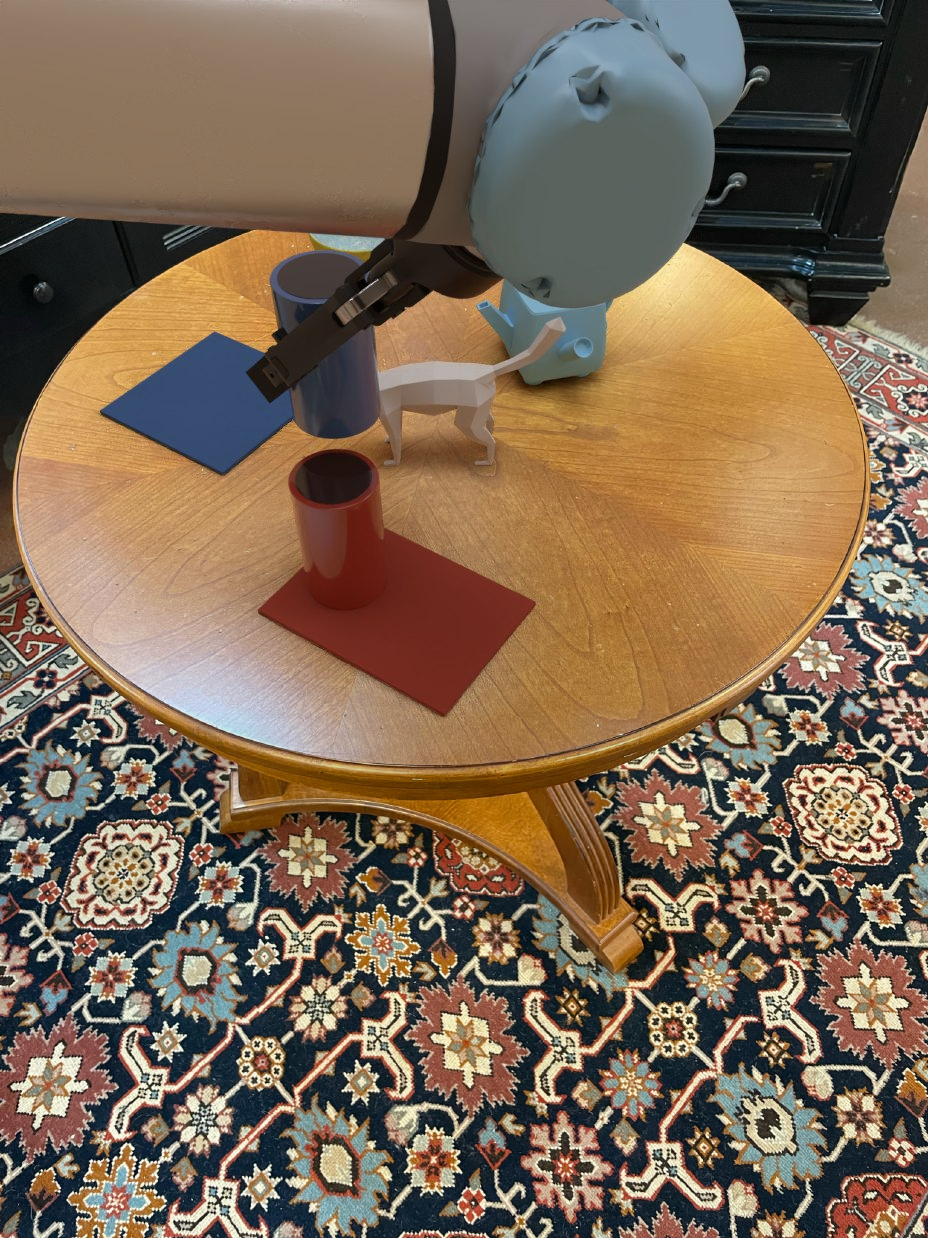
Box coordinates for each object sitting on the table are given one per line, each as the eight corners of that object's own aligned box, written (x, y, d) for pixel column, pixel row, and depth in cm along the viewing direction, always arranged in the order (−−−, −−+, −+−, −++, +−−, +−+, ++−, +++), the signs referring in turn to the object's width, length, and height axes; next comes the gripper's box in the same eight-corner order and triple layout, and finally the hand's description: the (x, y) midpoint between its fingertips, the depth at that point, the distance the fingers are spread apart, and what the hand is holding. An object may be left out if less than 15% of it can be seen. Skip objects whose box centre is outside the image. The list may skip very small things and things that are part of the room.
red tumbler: (290, 587, 77) (268, 485, 69) (341, 539, 81) (326, 436, 72) (354, 622, 75) (340, 521, 66) (404, 571, 78) (397, 469, 70)
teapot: (638, 401, 93) (654, 310, 86) (501, 426, 91) (505, 334, 83) (575, 303, 104) (584, 214, 97) (451, 323, 102) (450, 233, 94)
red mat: (258, 612, 76) (257, 609, 76) (358, 517, 83) (357, 514, 83) (444, 717, 70) (444, 714, 69) (536, 604, 77) (536, 601, 76)
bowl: (432, 285, 107) (431, 233, 102) (338, 313, 103) (332, 260, 98) (389, 239, 113) (385, 188, 108) (298, 264, 110) (291, 211, 105)
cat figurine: (340, 437, 90) (323, 303, 79) (552, 434, 90) (565, 301, 79) (337, 469, 87) (319, 335, 76) (556, 466, 87) (569, 332, 76)
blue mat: (100, 413, 92) (99, 410, 92) (215, 334, 101) (214, 330, 100) (223, 475, 86) (222, 472, 86) (334, 385, 95) (333, 382, 95)
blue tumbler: (273, 418, 71) (248, 282, 62) (330, 373, 74) (313, 239, 66) (343, 450, 68) (326, 314, 60) (398, 403, 72) (390, 267, 63)
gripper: (418, 351, 48) (236, 474, 66) (606, 195, 58) (404, 339, 77) (324, 219, 46) (163, 385, 64) (537, 81, 56) (346, 258, 74)
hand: (294, 359), depth 70 cm, fingers closed on blue tumbler, 7 cm apart
